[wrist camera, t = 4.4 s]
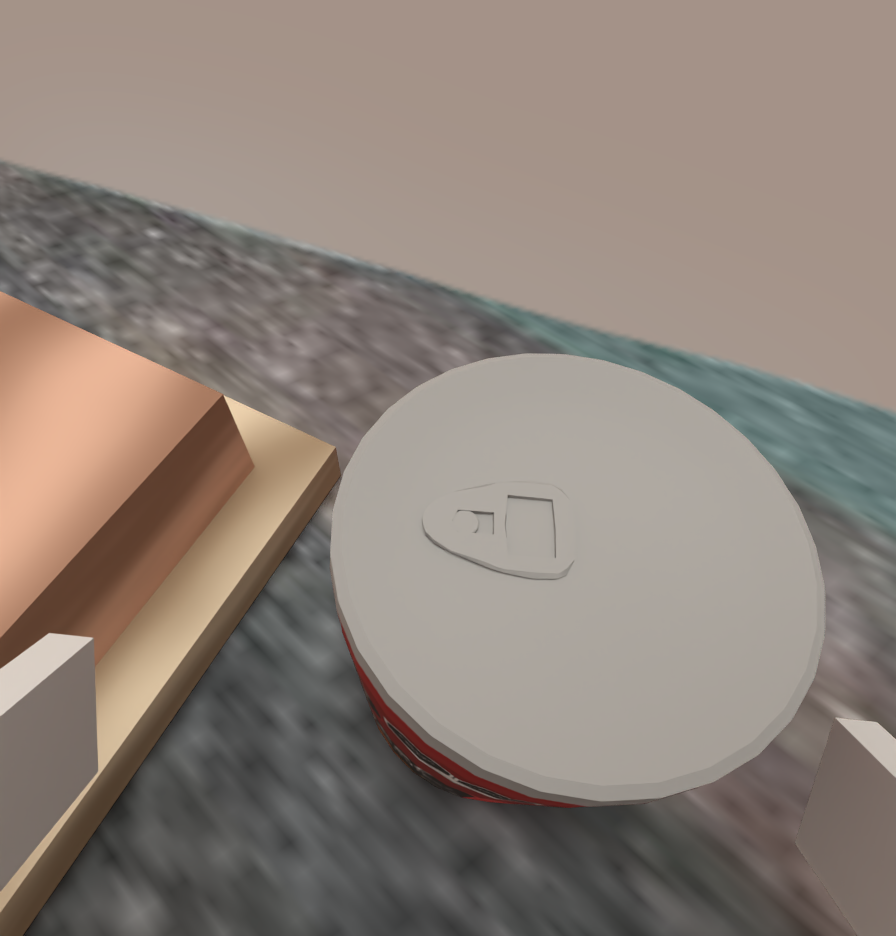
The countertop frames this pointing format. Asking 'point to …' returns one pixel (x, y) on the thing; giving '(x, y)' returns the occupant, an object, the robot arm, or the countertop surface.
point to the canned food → (572, 585)
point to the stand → (131, 540)
